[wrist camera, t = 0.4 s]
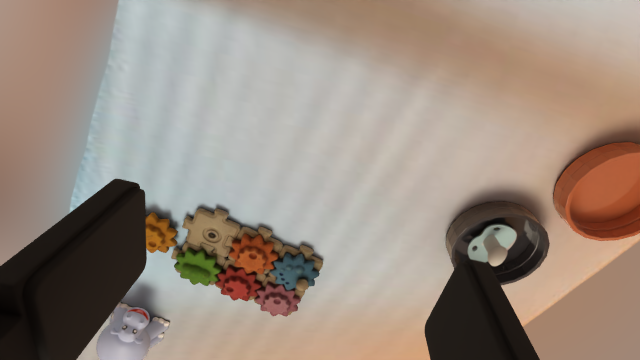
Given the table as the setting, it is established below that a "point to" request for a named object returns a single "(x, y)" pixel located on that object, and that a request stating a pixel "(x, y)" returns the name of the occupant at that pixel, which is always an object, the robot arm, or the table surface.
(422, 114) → the table surface
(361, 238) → the table surface
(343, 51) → the table surface
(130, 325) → the hippopotamus toy
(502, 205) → the charcoal bowl
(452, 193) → the table surface
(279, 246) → the gear puzzle
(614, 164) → the terracotta bowl
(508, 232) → the pacifier
